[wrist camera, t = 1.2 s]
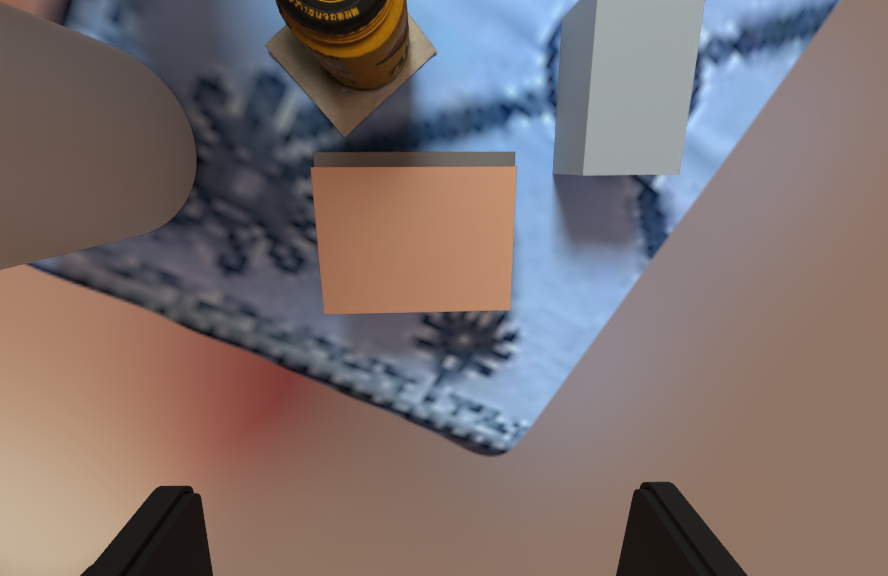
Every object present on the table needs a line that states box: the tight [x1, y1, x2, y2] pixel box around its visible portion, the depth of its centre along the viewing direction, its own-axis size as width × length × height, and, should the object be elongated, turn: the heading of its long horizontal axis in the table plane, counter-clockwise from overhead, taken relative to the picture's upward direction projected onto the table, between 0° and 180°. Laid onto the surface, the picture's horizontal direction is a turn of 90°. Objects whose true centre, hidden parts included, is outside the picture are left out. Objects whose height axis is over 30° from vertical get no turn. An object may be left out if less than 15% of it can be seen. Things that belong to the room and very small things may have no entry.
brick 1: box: [311, 167, 517, 314], centre depth 28 cm, size 12×9×5 cm
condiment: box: [265, 0, 437, 137], centre depth 21 cm, size 7×8×12 cm
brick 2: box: [553, 0, 705, 176], centre depth 26 cm, size 10×6×6 cm, turn 1°
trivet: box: [313, 152, 515, 167], centre depth 30 cm, size 11×14×1 cm
